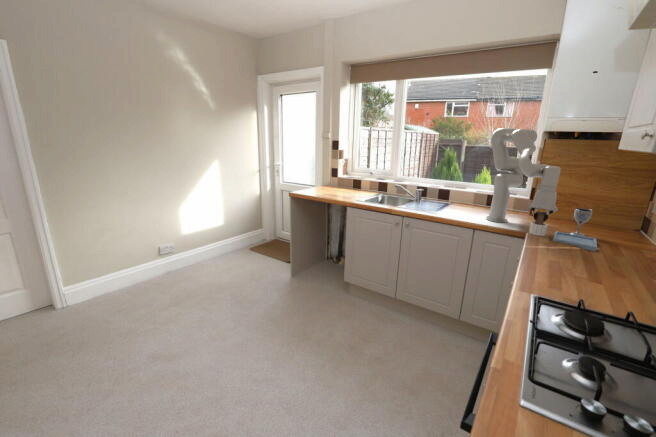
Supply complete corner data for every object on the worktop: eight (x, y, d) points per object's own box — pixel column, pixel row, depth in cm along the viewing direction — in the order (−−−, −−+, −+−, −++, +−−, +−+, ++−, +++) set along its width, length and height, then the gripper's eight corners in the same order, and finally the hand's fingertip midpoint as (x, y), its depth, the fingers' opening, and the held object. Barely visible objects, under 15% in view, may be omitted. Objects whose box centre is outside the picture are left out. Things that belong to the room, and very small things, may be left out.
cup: (525, 232, 179) (528, 221, 177) (538, 233, 179) (541, 221, 177) (534, 237, 171) (537, 225, 169) (548, 237, 171) (551, 225, 169)
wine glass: (570, 234, 178) (576, 210, 173) (567, 231, 184) (573, 207, 180) (587, 237, 174) (594, 212, 170) (583, 233, 181) (590, 209, 177)
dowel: (531, 230, 177) (535, 210, 173) (538, 230, 177) (542, 211, 173) (535, 233, 173) (540, 212, 169) (542, 233, 173) (547, 213, 169)
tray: (552, 242, 163) (553, 238, 163) (554, 234, 177) (555, 231, 176) (595, 251, 152) (597, 247, 152) (595, 242, 166) (596, 238, 165)
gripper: (528, 187, 170) (521, 218, 175) (565, 191, 160) (557, 224, 165) (530, 185, 175) (523, 216, 181) (566, 190, 165) (558, 222, 170)
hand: (539, 219), depth 173 cm, fingers closed on dowel, 4 cm apart
